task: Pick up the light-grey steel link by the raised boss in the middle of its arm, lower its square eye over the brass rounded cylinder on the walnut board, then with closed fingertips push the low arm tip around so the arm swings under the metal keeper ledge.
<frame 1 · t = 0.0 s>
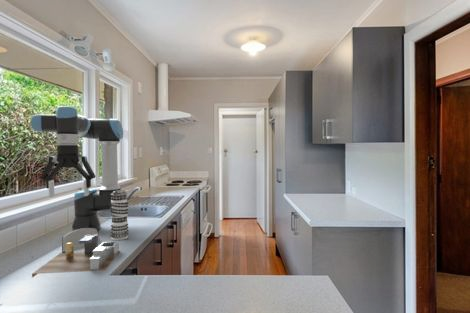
hand: (69, 196, 115), 28 cm above the worktop, fingers open, 13 cm apart
brass rounded cylinder: (70, 260, 118), resting on board
decorative candle: (119, 237, 148), on the worktop
keeper: (88, 248, 120), resting on board
link: (100, 263, 112), point 1 cm above the worktop, touching board
grey curved arch block: (81, 248, 134), on the worktop
board: (80, 263, 115), on the worktop
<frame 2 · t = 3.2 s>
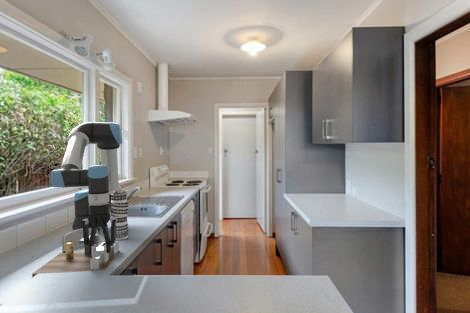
hand: (100, 260, 112), 2 cm above the worktop, fingers closed on link, 4 cm apart
link: (100, 263, 113), point 1 cm above the worktop, touching gripper
when the fingers open (4 cm above the worktop, at t = 7.1 s): link drops 2 cm, resting on board.
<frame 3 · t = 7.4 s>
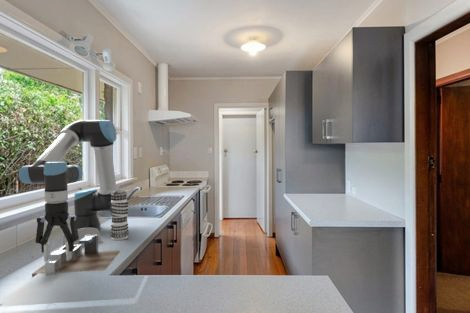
hand: (58, 259, 109), 4 cm above the worktop, fingers open, 7 cm apart
link: (58, 267, 109), point 1 cm above the worktop, touching board
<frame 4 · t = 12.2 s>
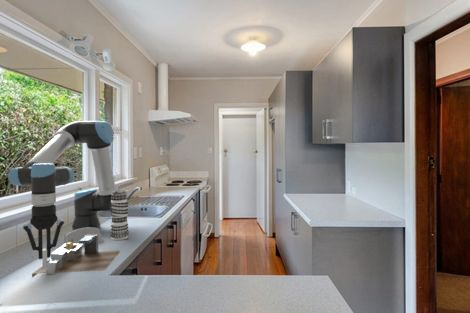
hand: (44, 266, 105), 3 cm above the worktop, fingers closed
link: (58, 266, 109), point 1 cm above the worktop, tilted 7°, touching board, gripper
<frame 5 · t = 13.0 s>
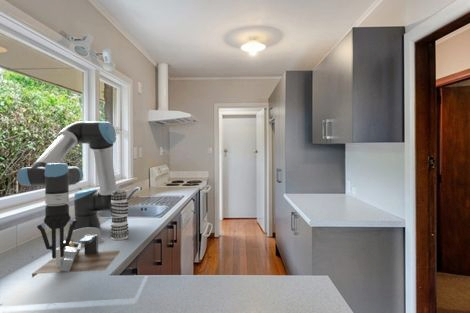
hand: (58, 265, 106), 3 cm above the worktop, fingers closed
link: (65, 264, 110), point 2 cm above the worktop, tilted 20°, touching board, gripper
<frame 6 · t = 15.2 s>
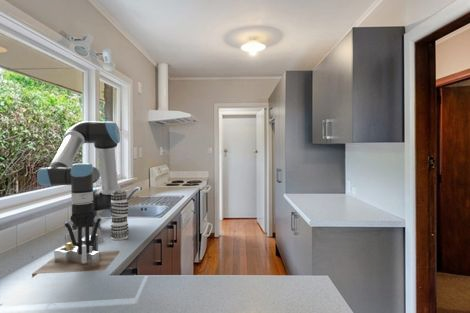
hand: (84, 261, 110), 3 cm above the worktop, fingers closed
link: (84, 261, 114), point 1 cm above the worktop, touching gripper
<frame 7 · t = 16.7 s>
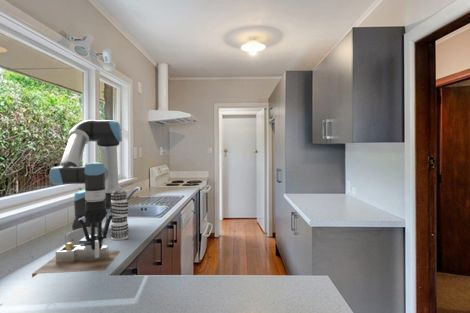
hand: (96, 256, 116), 3 cm above the worktop, fingers closed
link: (92, 257, 119), point 1 cm above the worktop, touching board
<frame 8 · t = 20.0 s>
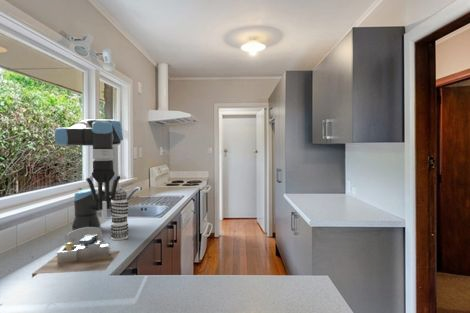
hand: (104, 217, 114), 19 cm above the worktop, fingers closed
link: (94, 256, 120), point 1 cm above the worktop, touching board
at the end: link inside the target area on the worktop beside the brass rounded cylinder (1.1 cm from its centre), point 1.2 cm above the worktop; link point 1.2 cm above the worktop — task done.
